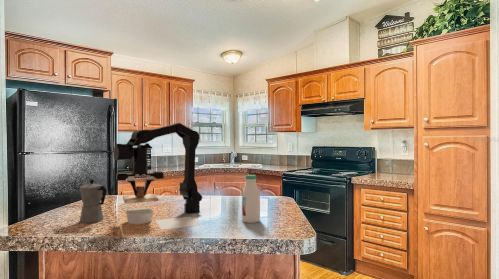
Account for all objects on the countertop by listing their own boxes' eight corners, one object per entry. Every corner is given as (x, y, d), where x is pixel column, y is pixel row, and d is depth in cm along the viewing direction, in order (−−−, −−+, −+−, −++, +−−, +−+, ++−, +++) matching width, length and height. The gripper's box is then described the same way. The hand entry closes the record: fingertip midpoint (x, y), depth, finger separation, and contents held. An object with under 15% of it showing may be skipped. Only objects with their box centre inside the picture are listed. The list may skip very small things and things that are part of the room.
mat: (191, 217, 141) (191, 216, 141) (201, 226, 126) (201, 224, 126) (154, 221, 134) (154, 220, 134) (161, 231, 120) (161, 229, 120)
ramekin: (144, 227, 126) (145, 214, 126) (120, 225, 128) (120, 212, 128) (158, 220, 137) (158, 208, 137) (135, 219, 139) (135, 207, 139)
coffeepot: (71, 221, 134) (71, 179, 135) (90, 216, 143) (90, 177, 143) (96, 225, 128) (96, 181, 128) (114, 220, 136) (115, 179, 137)
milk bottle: (262, 219, 137) (262, 174, 138) (256, 224, 130) (256, 176, 130) (245, 218, 140) (245, 173, 140) (239, 222, 133) (239, 175, 133)
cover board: (153, 196, 141) (153, 183, 141) (158, 200, 129) (158, 187, 129) (122, 198, 135) (122, 185, 136) (124, 203, 124) (124, 189, 124)
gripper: (159, 158, 144) (159, 191, 144) (115, 159, 136) (115, 194, 136) (163, 159, 134) (163, 195, 134) (116, 160, 126) (116, 199, 126)
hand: (140, 196), depth 133 cm, fingers closed on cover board, 3 cm apart
